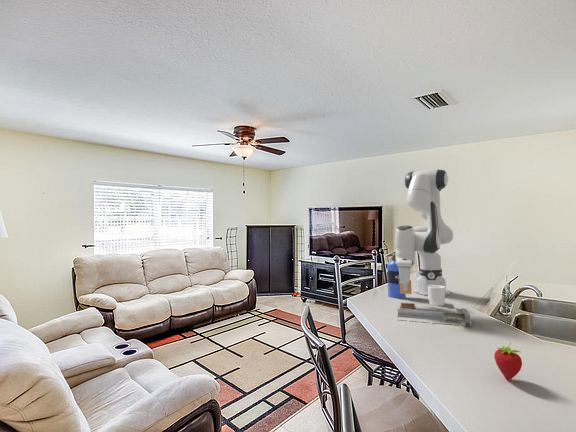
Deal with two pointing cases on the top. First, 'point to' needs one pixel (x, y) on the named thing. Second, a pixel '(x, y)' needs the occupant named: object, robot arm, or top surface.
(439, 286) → the white cup
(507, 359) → the strawberry
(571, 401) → the top surface
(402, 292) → the orange notched block
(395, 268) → the water bottle
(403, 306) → the pad
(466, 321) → the rail
